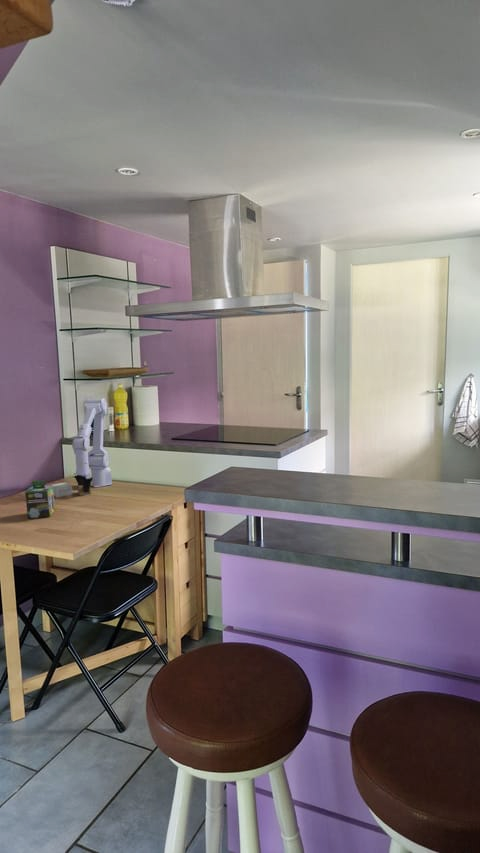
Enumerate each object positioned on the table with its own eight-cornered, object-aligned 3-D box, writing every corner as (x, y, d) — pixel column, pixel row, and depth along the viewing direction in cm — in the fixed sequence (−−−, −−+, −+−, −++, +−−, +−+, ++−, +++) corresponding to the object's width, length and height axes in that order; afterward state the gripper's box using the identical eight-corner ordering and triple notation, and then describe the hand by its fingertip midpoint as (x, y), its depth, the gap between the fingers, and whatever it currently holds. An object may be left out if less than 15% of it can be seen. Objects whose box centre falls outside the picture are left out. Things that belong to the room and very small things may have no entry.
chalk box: (55, 511, 230) (52, 477, 228) (50, 517, 221) (47, 482, 219) (33, 512, 229) (30, 478, 227) (26, 518, 220) (23, 483, 218)
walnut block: (87, 492, 260) (86, 484, 260) (90, 494, 257) (90, 486, 256) (78, 494, 258) (77, 485, 257) (81, 495, 254) (80, 487, 254)
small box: (66, 492, 263) (65, 481, 262) (73, 494, 257) (72, 484, 256) (50, 495, 258) (49, 484, 257) (56, 498, 252) (56, 487, 251)
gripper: (68, 461, 259) (71, 489, 261) (79, 466, 247) (81, 495, 249) (83, 459, 263) (85, 487, 265) (94, 464, 251) (95, 492, 253)
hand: (84, 490), depth 257 cm, fingers open, 6 cm apart
